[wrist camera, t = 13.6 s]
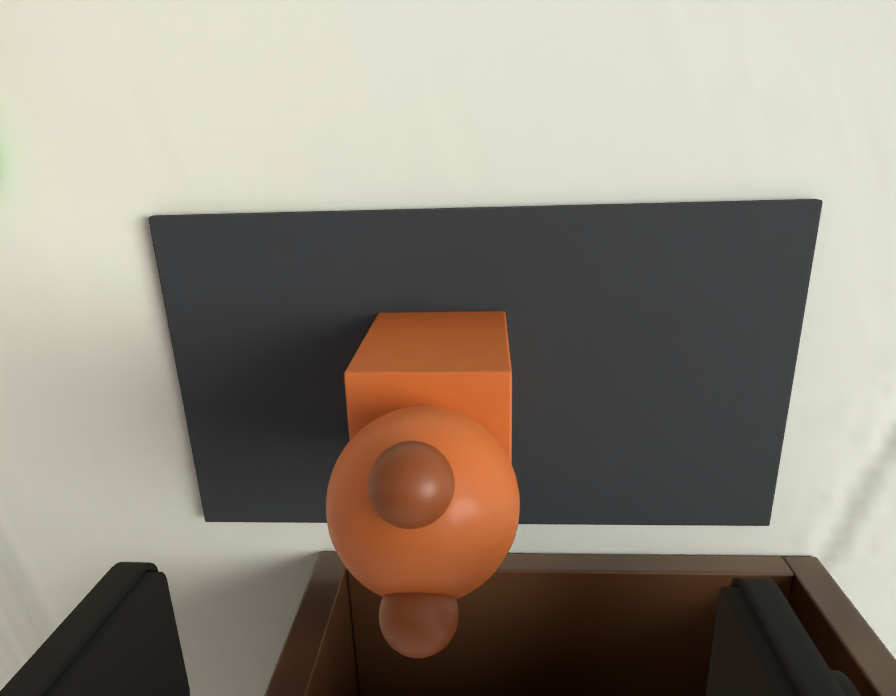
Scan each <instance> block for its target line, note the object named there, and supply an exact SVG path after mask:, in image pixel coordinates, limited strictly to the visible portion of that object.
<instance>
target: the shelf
mask: <svg viewBox="0 0 896 696" xmlns="http://www.w3.org/2000/svg"><path fill="white" fill-rule="evenodd" d="M736 577H737V578H770V579H772V580H774V581H775V583H776V584H777V585H778V587H779V588H780V590H781V592H782V593H783V595H784V596H785V598H786V600H787V601H788V603H789V604H790V606H791V608H792V609H793V611H794V612H795V614H796V616H797V617H798V619H799V620H800V622H801V624H802V625H803V627H804V628H805V630H806V632H807V633H808V635H809V636H810V638H811V640H812V641H813V643H814V644H815V646H816V648H817V649H818V651H819V652H820V654H821V656H822V657H823V659H824V660H825V662H826V664H827V665H828V667H829V669H830V670H836V671H840V672H842V673H843V674H845V675H846V676H847V677H848V678H849V679H850V681H851V682H852V683H853V684H854V686H855V687H856V689H857V690H858V692H859V693H860V695H861V696H896V659H895V658H894V657H893V656H892V654H891V653H890V652H889V650H888V649H887V648H886V646H885V645H884V644H883V643H882V641H881V640H880V639H879V637H878V636H877V635H876V634H875V632H874V631H873V630H872V628H871V627H870V626H869V624H868V623H867V622H866V621H865V619H864V618H863V617H862V615H861V614H860V613H859V611H858V610H857V609H856V608H855V606H854V605H853V604H852V602H851V601H850V600H849V599H848V597H847V596H846V595H845V593H844V592H843V591H842V589H841V588H840V587H839V586H838V584H837V583H836V582H835V580H834V579H833V578H832V577H831V575H830V574H829V573H828V571H827V570H826V569H825V567H824V566H823V565H822V564H821V562H820V561H819V560H818V558H816V557H783V558H782V557H779V556H680V555H580V554H507V555H506V557H505V559H504V560H503V562H502V564H501V565H500V566H499V567H498V569H497V570H496V571H495V572H494V573H493V574H492V576H491V577H490V578H489V579H488V580H486V581H485V582H484V583H483V584H482V585H481V586H479V587H478V588H476V589H475V590H473V591H472V592H470V593H468V594H466V595H464V596H463V597H461V598H458V599H456V601H457V605H458V613H459V616H458V624H457V628H456V631H455V633H454V635H453V637H452V639H451V640H450V642H449V643H448V644H447V645H446V647H444V648H443V649H442V650H441V651H439V652H438V653H436V654H434V655H432V656H429V657H425V658H411V657H407V656H404V655H402V654H400V653H398V652H397V651H396V650H394V649H393V648H392V647H391V646H390V645H389V644H388V642H387V641H386V639H385V638H384V636H383V634H382V631H381V628H380V623H379V609H380V604H381V601H382V598H383V597H382V596H380V595H378V594H376V593H374V592H372V591H371V590H369V589H368V588H366V587H365V586H364V585H362V584H361V583H360V582H359V581H358V580H357V579H356V578H355V577H354V576H353V575H352V574H351V573H350V572H349V570H348V569H347V568H346V567H345V565H344V564H343V562H342V561H341V559H340V558H339V556H338V554H337V552H320V554H319V556H318V559H317V561H316V564H315V567H314V569H313V572H312V574H311V577H310V579H309V582H308V585H307V587H306V590H305V592H304V595H303V597H302V600H301V603H300V605H299V608H298V610H297V613H296V615H295V618H294V621H293V623H292V626H291V628H290V631H289V633H288V636H287V639H286V641H285V644H284V646H283V649H282V651H281V654H280V657H279V659H278V662H277V664H276V667H275V670H274V672H273V675H272V677H271V680H270V682H269V685H268V688H267V690H266V693H265V695H264V696H706V688H707V681H708V673H709V665H710V658H711V650H712V642H713V635H714V627H715V619H716V612H717V604H718V596H719V591H720V589H721V587H730V583H731V581H732V579H733V578H736Z"/></svg>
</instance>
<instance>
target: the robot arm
mask: <svg viewBox="0 0 896 696" xmlns="http://www.w3.org/2000/svg"><path fill="white" fill-rule="evenodd" d="M0 696H190V689H189V684H188V679H187V674H186V669H185V665H184V660H183V655H182V650H181V645H180V640H179V636H178V631H177V626H176V621H175V616H174V612H173V607H172V602H171V597H170V592H169V588H168V583H167V578H166V576H165V574H164V573H163V572H158V569H157V567H156V566H155V564H153V563H141V562H120V563H116V564H115V565H114V566H113V567H112V568H111V569H110V570H109V571H108V572H107V573H106V574H105V576H104V577H103V578H102V579H101V580H100V581H99V582H98V583H97V584H96V586H95V587H94V588H93V589H92V590H91V591H90V592H89V593H88V594H87V596H86V597H85V598H84V599H83V600H82V601H81V602H80V603H79V604H78V606H77V607H76V608H75V609H74V610H73V611H72V612H71V613H70V614H69V616H68V617H67V618H66V619H65V620H64V621H63V622H62V623H61V624H60V625H59V627H58V628H57V629H56V630H55V631H54V632H53V633H52V634H51V635H50V637H49V638H48V639H47V640H46V641H45V642H44V643H43V644H42V645H41V647H40V648H39V649H38V650H37V651H36V652H35V653H34V654H33V655H32V657H31V658H30V659H29V660H28V661H27V662H26V663H25V664H24V665H23V667H22V668H21V669H20V670H19V671H18V672H17V673H16V674H15V675H14V677H13V678H12V679H11V680H10V681H9V682H8V683H7V684H6V685H5V687H4V688H3V689H2V690H1V691H0ZM706 696H861V695H860V693H859V692H858V690H857V689H856V687H855V686H854V684H853V683H852V682H851V681H850V679H849V678H848V677H847V676H846V675H845V674H843V673H842V672H840V671H836V670H830V669H829V667H828V665H827V664H826V662H825V660H824V659H823V657H822V656H821V654H820V652H819V651H818V649H817V648H816V646H815V644H814V643H813V641H812V640H811V638H810V636H809V635H808V633H807V632H806V630H805V628H804V627H803V625H802V624H801V622H800V620H799V619H798V617H797V616H796V614H795V612H794V611H793V609H792V608H791V606H790V604H789V603H788V601H787V600H786V598H785V596H784V595H783V593H782V592H781V590H780V588H779V587H778V585H777V584H776V583H775V581H774V580H772V579H770V578H737V577H736V578H733V579H732V581H731V583H730V587H721V589H720V591H719V596H718V604H717V612H716V619H715V627H714V635H713V642H712V650H711V658H710V665H709V673H708V681H707V688H706Z"/></svg>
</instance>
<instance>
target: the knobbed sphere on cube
mask: <svg viewBox="0 0 896 696" xmlns="http://www.w3.org/2000/svg"><path fill="white" fill-rule="evenodd" d="M344 382H345V393H346V404H347V415H348V426H349V437H350V441H349V443H348V444H347V445H346V446H345V448H344V450H343V451H342V453H341V454H340V456H339V458H338V459H337V461H336V464H335V466H334V468H333V471H332V474H331V477H330V481H329V484H328V489H327V497H326V517H327V523H328V529H329V534H330V537H331V540H332V543H333V545H334V547H335V550H336V552H337V554H338V556H339V558H340V559H341V561H342V562H343V564H344V565H345V567H346V568H347V569H348V570H349V572H350V573H351V574H352V575H353V576H354V577H355V578H356V579H357V580H358V581H359V582H360V583H361V584H362V585H364V586H365V587H366V588H368V589H369V590H371V591H372V592H374V593H376V594H378V595H380V596H382V597H383V598H382V601H381V604H380V609H379V623H380V628H381V631H382V634H383V636H384V638H385V639H386V641H387V642H388V644H389V645H390V646H391V647H392V648H393V649H394V650H396V651H397V652H398V653H400V654H402V655H404V656H407V657H411V658H425V657H429V656H432V655H434V654H436V653H438V652H439V651H441V650H442V649H443V648H444V647H446V645H447V644H448V643H449V642H450V640H451V639H452V637H453V635H454V633H455V631H456V628H457V624H458V616H459V613H458V605H457V601H456V599H458V598H461V597H463V596H464V595H466V594H468V593H470V592H472V591H473V590H475V589H476V588H478V587H479V586H481V585H482V584H483V583H484V582H485V581H486V580H488V579H489V578H490V577H491V576H492V574H493V573H494V572H495V571H496V570H497V569H498V567H499V566H500V565H501V564H502V562H503V560H504V559H505V557H506V555H507V554H508V552H509V550H510V548H511V545H512V543H513V540H514V538H515V534H516V530H517V526H518V522H519V512H520V497H519V489H518V484H517V480H516V475H515V472H514V470H513V467H512V370H511V360H510V351H509V342H508V333H507V324H506V315H505V312H504V311H471V312H397V313H378V315H377V317H376V319H375V320H374V322H373V324H372V326H371V327H370V329H369V331H368V333H367V334H366V336H365V338H364V340H363V341H362V343H361V345H360V347H359V348H358V350H357V352H356V354H355V355H354V357H353V359H352V360H351V362H350V364H349V366H348V367H347V369H346V371H345V373H344Z"/></svg>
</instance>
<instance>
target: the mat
mask: <svg viewBox="0 0 896 696" xmlns="http://www.w3.org/2000/svg"><path fill="white" fill-rule="evenodd" d="M821 208H822V200H818V199H797V200H757V201H717V202H677V203H636V204H596V205H556V206H516V207H475V208H435V209H395V210H354V211H314V212H274V213H234V214H193V215H155V216H151V217H149V218H148V219H149V224H150V230H151V235H152V240H153V246H154V251H155V256H156V261H157V267H158V272H159V277H160V283H161V288H162V293H163V299H164V304H165V309H166V315H167V320H168V325H169V331H170V336H171V341H172V347H173V352H174V357H175V363H176V368H177V373H178V379H179V384H180V389H181V395H182V400H183V405H184V411H185V416H186V421H187V427H188V432H189V437H190V443H191V448H192V453H193V459H194V464H195V469H196V475H197V480H198V485H199V491H200V496H201V501H202V507H203V512H204V517H205V521H206V522H310V523H327V517H326V497H327V489H328V484H329V481H330V477H331V474H332V471H333V468H334V466H335V464H336V461H337V459H338V458H339V456H340V454H341V453H342V451H343V450H344V448H345V446H346V445H347V444H348V443H349V441H350V437H349V426H348V415H347V404H346V393H345V382H344V373H345V371H346V369H347V367H348V366H349V364H350V362H351V360H352V359H353V357H354V355H355V354H356V352H357V350H358V348H359V347H360V345H361V343H362V341H363V340H364V338H365V336H366V334H367V333H368V331H369V329H370V327H371V326H372V324H373V322H374V320H375V319H376V317H377V315H378V313H397V312H471V311H504V312H505V315H506V324H507V333H508V342H509V351H510V360H511V370H512V467H513V470H514V472H515V475H516V480H517V484H518V489H519V497H520V512H519V522H518V524H592V525H734V526H769V524H770V518H771V512H772V506H773V500H774V493H775V487H776V481H777V475H778V469H779V463H780V457H781V451H782V445H783V439H784V433H785V427H786V420H787V414H788V408H789V402H790V396H791V390H792V384H793V378H794V372H795V366H796V360H797V354H798V347H799V341H800V335H801V329H802V323H803V317H804V311H805V305H806V299H807V293H808V287H809V281H810V274H811V268H812V262H813V256H814V250H815V244H816V238H817V232H818V226H819V220H820V214H821Z"/></svg>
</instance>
